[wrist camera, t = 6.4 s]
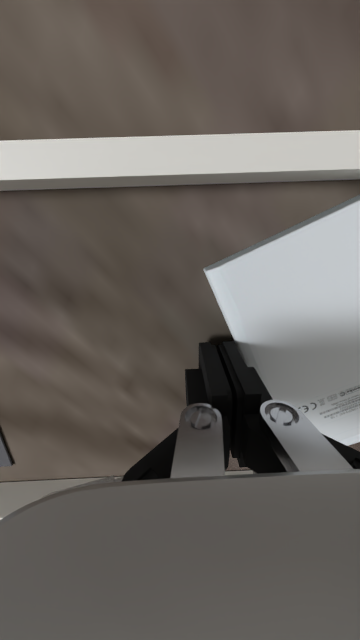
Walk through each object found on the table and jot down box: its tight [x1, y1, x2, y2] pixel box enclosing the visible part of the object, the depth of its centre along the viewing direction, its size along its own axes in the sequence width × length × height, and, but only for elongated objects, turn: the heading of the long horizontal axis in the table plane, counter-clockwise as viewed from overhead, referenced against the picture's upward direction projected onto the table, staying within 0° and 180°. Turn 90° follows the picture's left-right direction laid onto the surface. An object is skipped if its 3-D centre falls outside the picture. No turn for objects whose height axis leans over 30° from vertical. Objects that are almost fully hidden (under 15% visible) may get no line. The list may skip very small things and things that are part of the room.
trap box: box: [0, 130, 360, 520], centre depth 11 cm, size 18×33×4 cm, turn 92°
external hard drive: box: [204, 195, 360, 446], centre depth 12 cm, size 2×8×12 cm
